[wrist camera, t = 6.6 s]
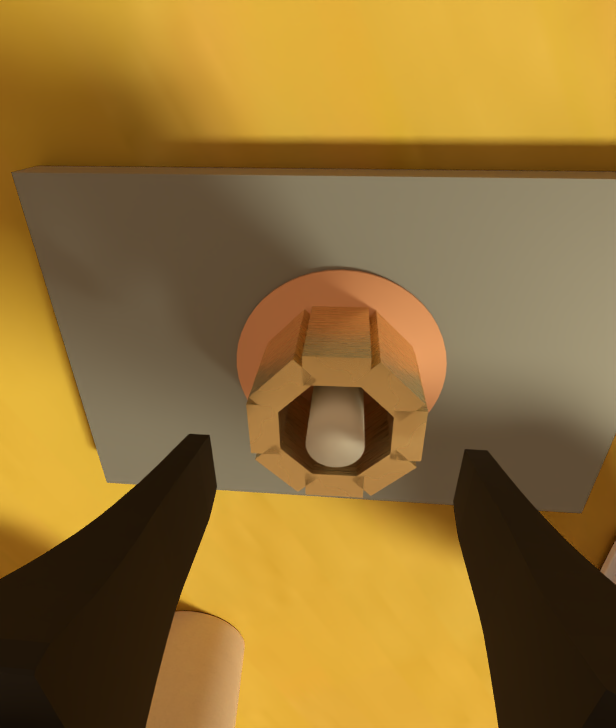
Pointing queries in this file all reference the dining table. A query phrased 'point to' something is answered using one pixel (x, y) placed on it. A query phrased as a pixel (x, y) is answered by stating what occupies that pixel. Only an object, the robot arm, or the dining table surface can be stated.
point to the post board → (338, 289)
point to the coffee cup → (198, 674)
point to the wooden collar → (346, 369)
